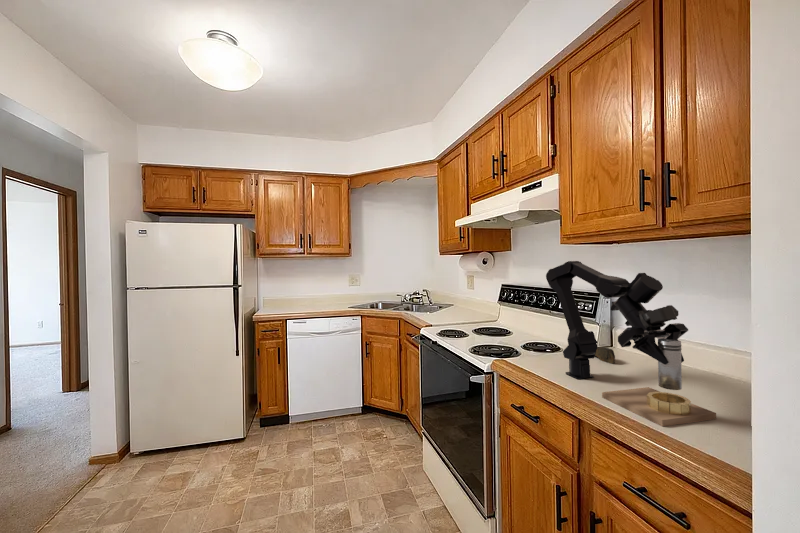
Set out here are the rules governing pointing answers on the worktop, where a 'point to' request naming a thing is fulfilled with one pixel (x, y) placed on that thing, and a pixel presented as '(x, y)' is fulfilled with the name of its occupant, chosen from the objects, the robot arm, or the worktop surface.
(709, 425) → the worktop surface
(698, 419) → the walnut board
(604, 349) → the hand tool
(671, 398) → the brass ring collar
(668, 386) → the piston
